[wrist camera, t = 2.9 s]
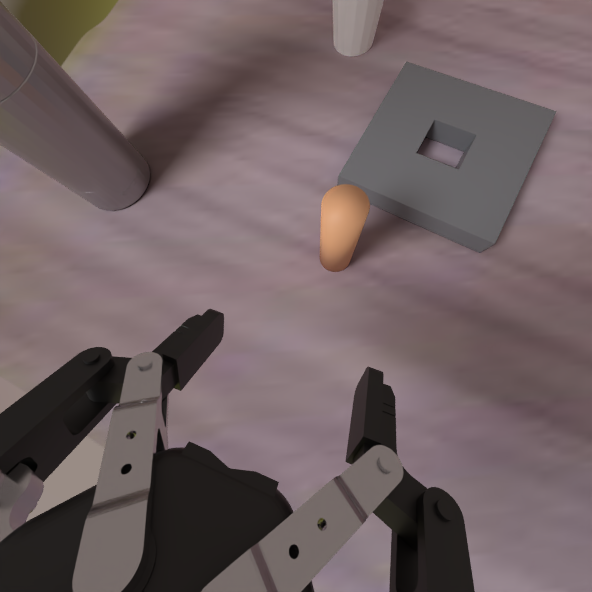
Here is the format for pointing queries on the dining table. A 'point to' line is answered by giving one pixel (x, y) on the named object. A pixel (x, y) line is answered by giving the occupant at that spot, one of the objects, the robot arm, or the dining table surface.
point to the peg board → (455, 133)
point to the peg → (341, 225)
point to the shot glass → (355, 25)
